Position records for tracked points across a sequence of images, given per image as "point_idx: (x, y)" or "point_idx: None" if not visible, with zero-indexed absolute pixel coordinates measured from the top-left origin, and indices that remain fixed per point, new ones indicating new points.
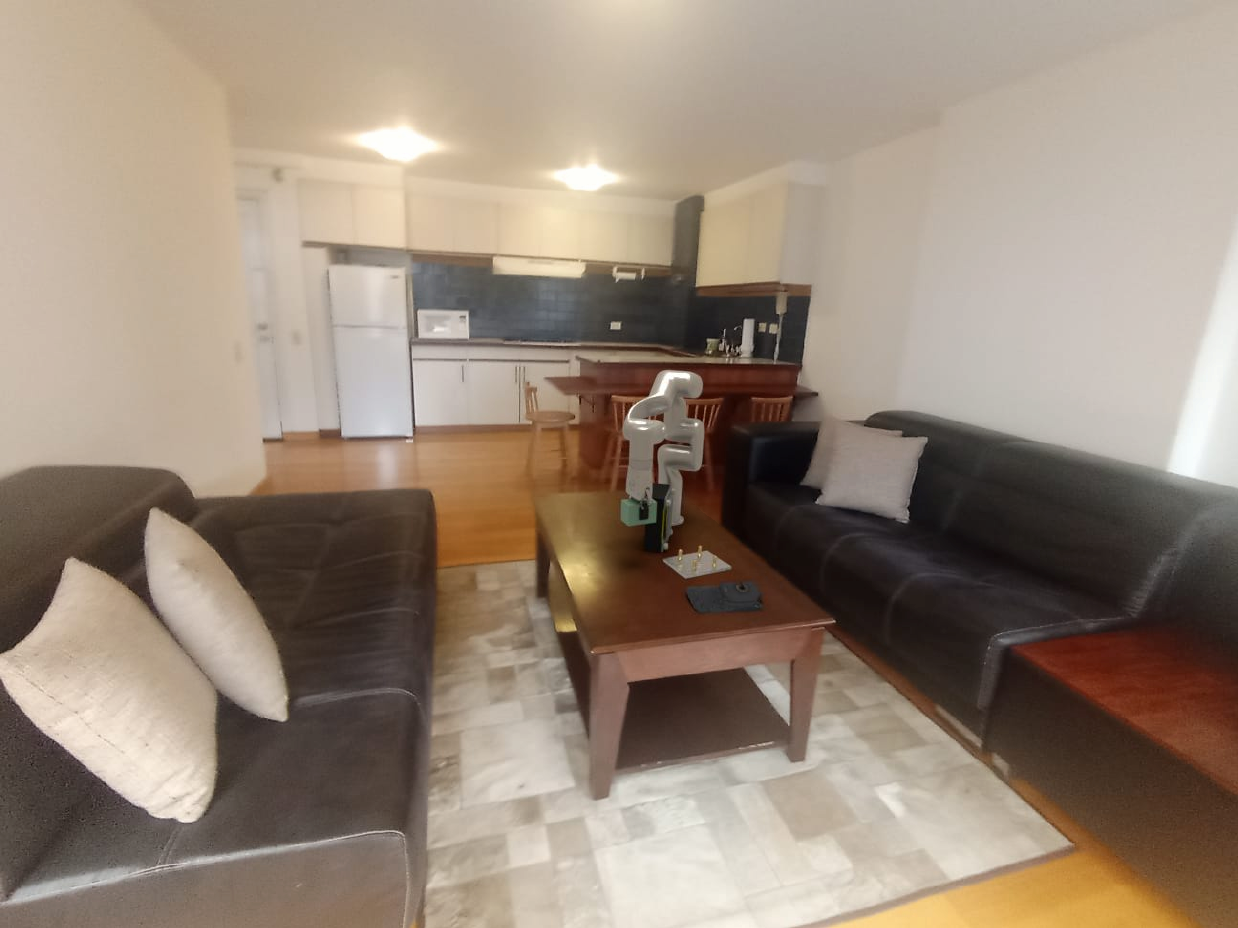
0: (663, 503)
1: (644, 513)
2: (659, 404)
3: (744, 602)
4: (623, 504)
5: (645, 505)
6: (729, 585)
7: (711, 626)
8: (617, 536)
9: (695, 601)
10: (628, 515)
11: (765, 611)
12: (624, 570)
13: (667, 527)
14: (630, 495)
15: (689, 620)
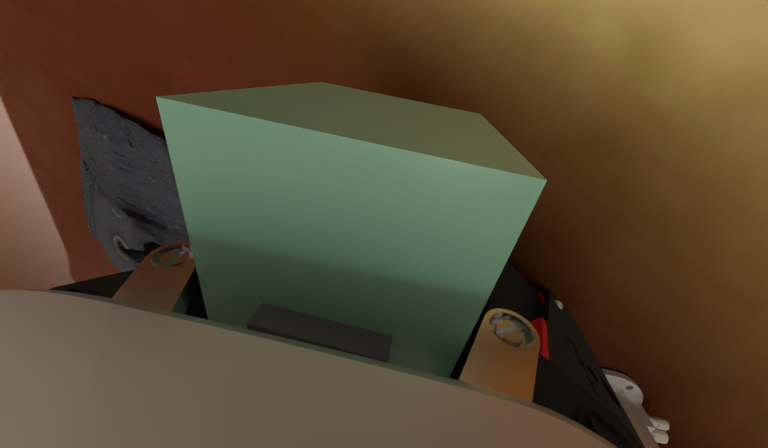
0: None
1: None
2: None
3: (92, 215)
4: (419, 138)
5: (74, 288)
6: (126, 232)
7: (8, 78)
8: (642, 229)
9: (94, 116)
10: (273, 88)
11: None
12: (385, 63)
13: None
14: (342, 360)
15: (30, 41)
